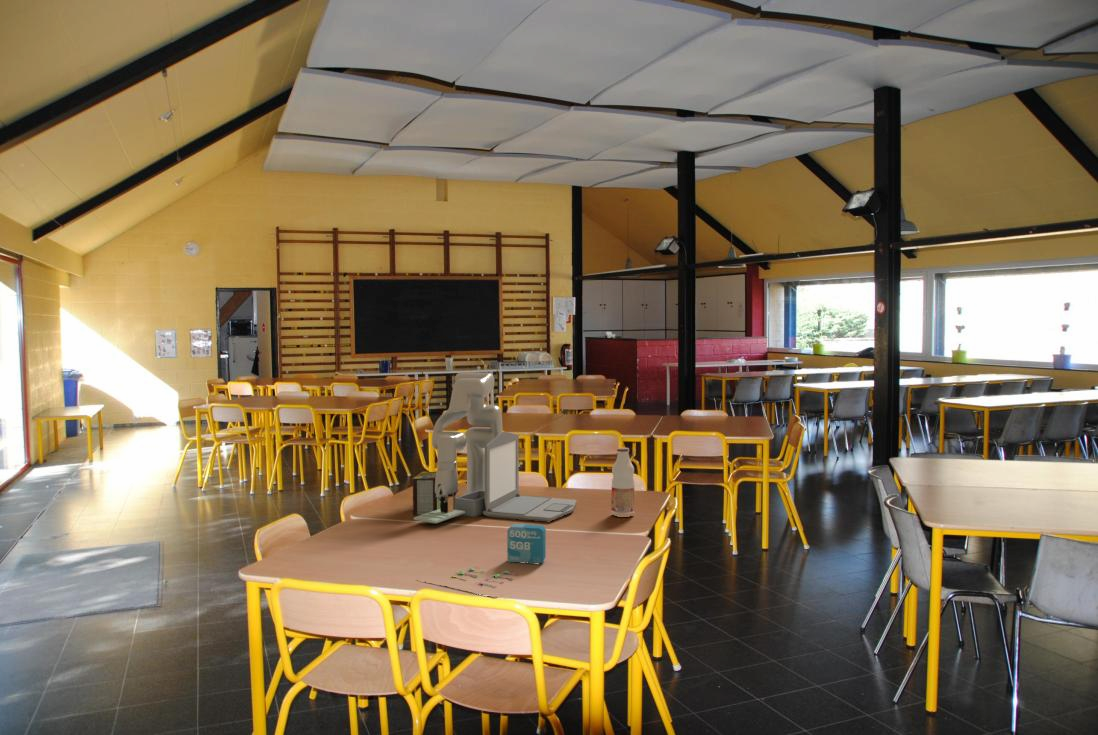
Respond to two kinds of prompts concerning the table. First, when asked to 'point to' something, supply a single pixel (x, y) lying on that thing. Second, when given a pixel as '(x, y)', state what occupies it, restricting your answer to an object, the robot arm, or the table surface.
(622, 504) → the fruit juice
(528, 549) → the data package
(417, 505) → the protein box
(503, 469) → the laptop
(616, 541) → the table surface
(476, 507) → the tub
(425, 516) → the lid
